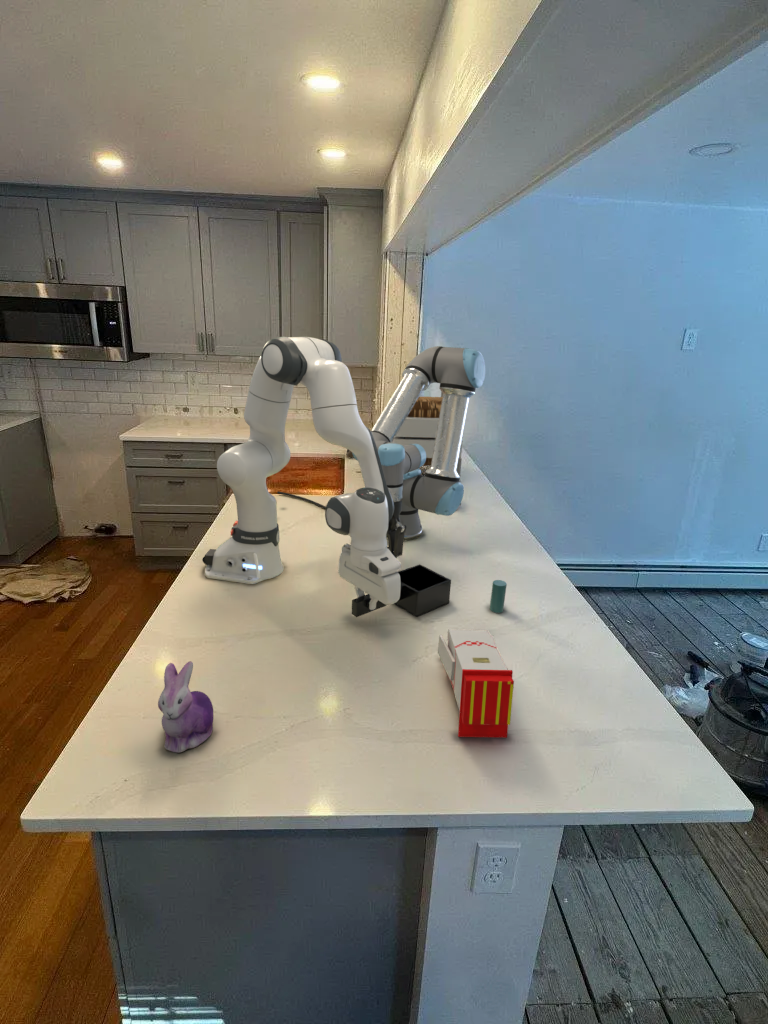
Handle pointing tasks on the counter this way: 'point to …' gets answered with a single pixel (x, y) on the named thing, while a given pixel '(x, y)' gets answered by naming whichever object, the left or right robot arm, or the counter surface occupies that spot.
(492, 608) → the teal peg
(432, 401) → the white slatted crate
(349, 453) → the fossil
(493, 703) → the toy
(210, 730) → the figurine
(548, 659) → the counter surface
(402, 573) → the black box with handle
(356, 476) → the counter surface
